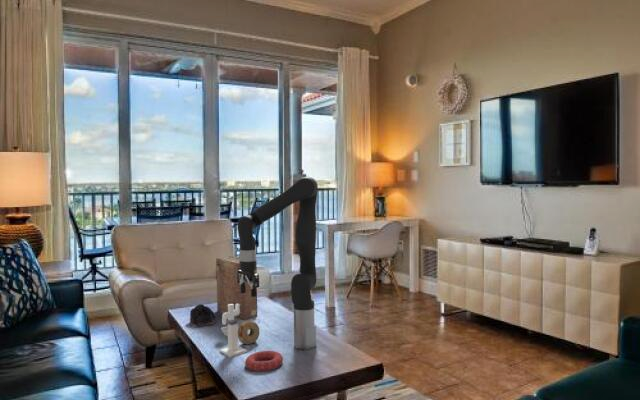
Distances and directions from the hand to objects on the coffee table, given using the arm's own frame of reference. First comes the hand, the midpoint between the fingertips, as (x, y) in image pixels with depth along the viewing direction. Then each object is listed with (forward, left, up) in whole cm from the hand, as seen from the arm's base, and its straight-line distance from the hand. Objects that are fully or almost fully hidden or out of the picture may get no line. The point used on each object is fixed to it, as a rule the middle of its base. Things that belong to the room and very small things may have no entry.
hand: (248, 294), depth 212 cm
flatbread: (0, 0, -23) cm, 23 cm away
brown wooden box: (+43, -21, -23) cm, 53 cm away
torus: (-24, +9, -23) cm, 34 cm away
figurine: (+15, 0, -23) cm, 27 cm away
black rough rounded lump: (+41, +1, -23) cm, 47 cm away
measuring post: (-4, +11, -22) cm, 25 cm away
